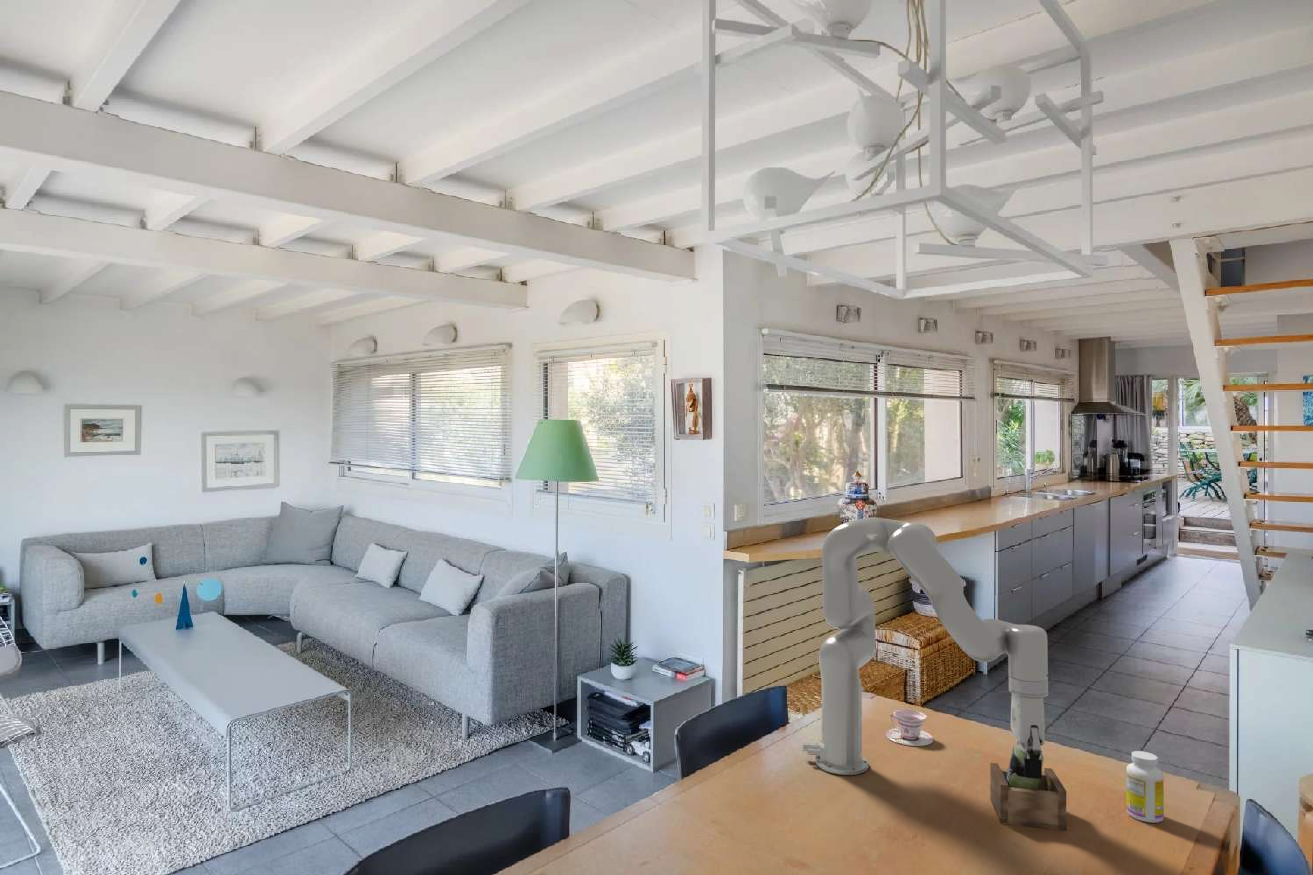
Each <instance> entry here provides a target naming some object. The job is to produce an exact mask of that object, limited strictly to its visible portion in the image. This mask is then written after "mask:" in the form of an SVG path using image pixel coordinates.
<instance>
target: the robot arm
mask: <svg viewBox="0 0 1313 875" xmlns="http://www.w3.org/2000/svg"><path fill="white" fill-rule="evenodd" d="M937 540H938V539H937V537H936V534H935V533H934V531H933V530H932V529H931V527H929V526H927V525H926V524H923V523H919V522H911V521H903V520H898V519H897V520H896V519H891V518H883V517H876V516H875V517H874V516H870V517H864V518H858V519H854V520H851V521H847V522H845V523H842V524H840V525H839V526H838V525H837V526H836V527H834V528H833V529H832V530H831V531H830V532H829V533H828V534H827V536H826V537H825V539H824V540H823V542H822V543H823V544H822V549H821V562H822V564H821V565H822V612H823V613H822V614H823V618H824V621H825V622H826V623H827V624H828V625H829V626H830V627H831V628H833V629H836V630H838V632H837V633H835V634H832V635H831V636H829V637H828V638H826V639H825V640H824V641H823V643H822V644H821V646H820V647H819V652H818V665H819V672H820V680H821V739H820V742H816V743H815V744H814V743H809V742H808V743H807V742H803V743H802V752H807V755H808V756H815V757H814V761H815V762H814V763H815V764H816V766H817V767H818V768H819V769H821V770H823V771H825V772H828V773H831V774H836V775H840V776H841V775H842V776H855V775H859V774H863V773H865V772H866V771H868V769H869V761H868V758H866V757H865V756H863V691H862V690H863V689H862V683H861V682H862V681H861V678H860V669H861V668H862V667H864V665H867V663H869V662H870V661H871V660H872V659H873V657H874V654H875V651H876V609H875V608H876V607H875V603H874V599H873V596H872V595H871V593H870V591H869V590H867V588H865V587H864V586H862V585H861V584H859V568H858V565H857V562H856V560H857V558H859V557H863V556H866V555H869V554H872V553H875V552H877V553H884V554H885V553H886V554H891V555H892V556H893V557H894V558H895V560H896V561H897V562H898V563H899V565H900V566H901V567H902V568H903V570H904V571H906V573H907V574H908V575H909V576H910V577H911V578H912V580H913V581H914V582H915V583H916V584H917V585H918V587H919V588H920V589H921V590H922V592H923V593H924V594H925V595H926V597H927V598H928V599H929V601H930V604H931V606H932V608H933V610H934V612H935V614H936V616H937V618H938V620H939V621H940V623H941V625H942V626H943V628H944V630H945V631H946V632H947V633H948V635H949V637H951V638H952V639H953V641H954V642H955V643H956V644H957V646H959V648H960V649H961V650H962V651H963V652H964V653H965V654H966V655H967V656H968V657H970V658H971V659H973V660H975V661H977V662H981V663H989V662H993V661H994V660H996V659H998V657H1000V656H1001V655H1005V654H1007V656H1008V658H1007V661H1008V663H1007V664H1008V665H1007V666H1008V669H1007V670H1008V673H1007V674H1008V691H1009V692H1010V693H1011V699H1010V700H1011V701H1010V731H1011V732H1012V733H1011V734H1012V735H1013V736H1014V739H1016V742H1017V743H1018V742H1019V743H1020V744H1023V743H1025V752H1026V757H1024V775H1025V777H1026V778H1034V779H1041V778H1042V772H1043V771H1042V770H1043V766H1042V759H1041V750H1042V748H1041V746H1043V745H1044V744H1045V738H1046V736H1045V735H1046V734H1045V732H1046V727H1045V726H1046V724H1045V704H1044V698H1045V697H1048V696H1049V672H1048V670H1049V669H1048V668H1049V667H1048V666H1049V665H1048V664H1049V663H1048V660H1049V658H1048V654H1049V653H1048V652H1049V651H1048V633H1047V632H1046V630H1045V629H1044V628H1042V627H1041V626H1040V627H1039V626H1037V625H1033V624H1032V625H1031V624H1016V623H1012V622H1007V621H1006V620H1005V621H1004V620H1000V619H998V618H997V619H996V618H985V619H983V620H982V619H981V618H980V617H979V615H977V614H976V612H975V611H974V610H973V609H972V607H971V606H970V604H969V602H968V601H967V599H966V597H965V594H964V590H963V585H962V579H961V577H960V576H961V575H960V573H958V571H957V570H956V569H955V568H954V567H953V565H951V563H950V562H949V561H948V560H947V559H946V558H945V557H944V556H943V555H942V553H941V552H940V551H939V550H938V549H937V546H938V543H937V542H938V541H937ZM1028 742H1029V743H1028ZM1017 743H1016V744H1017ZM1029 746H1033V747H1032V749H1030V752H1029Z"/></svg>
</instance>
